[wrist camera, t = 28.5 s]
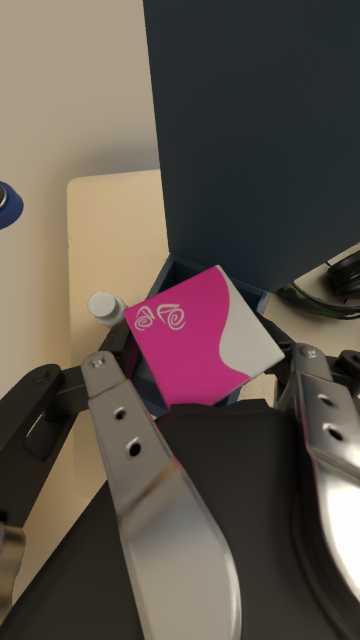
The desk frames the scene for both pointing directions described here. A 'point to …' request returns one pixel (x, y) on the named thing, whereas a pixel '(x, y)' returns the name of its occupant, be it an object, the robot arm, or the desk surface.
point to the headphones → (352, 283)
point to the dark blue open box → (168, 277)
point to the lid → (257, 132)
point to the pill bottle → (107, 308)
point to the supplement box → (201, 339)
